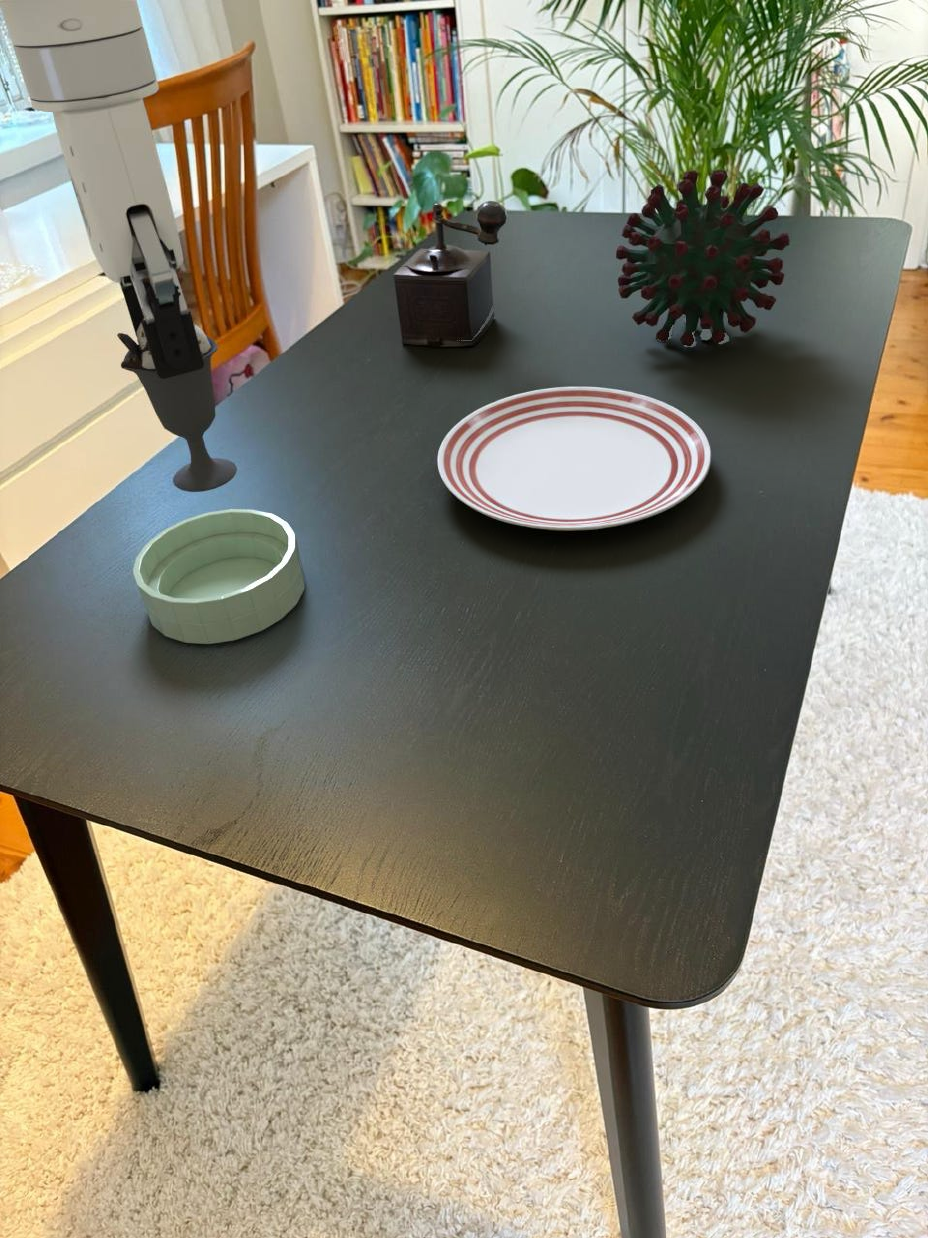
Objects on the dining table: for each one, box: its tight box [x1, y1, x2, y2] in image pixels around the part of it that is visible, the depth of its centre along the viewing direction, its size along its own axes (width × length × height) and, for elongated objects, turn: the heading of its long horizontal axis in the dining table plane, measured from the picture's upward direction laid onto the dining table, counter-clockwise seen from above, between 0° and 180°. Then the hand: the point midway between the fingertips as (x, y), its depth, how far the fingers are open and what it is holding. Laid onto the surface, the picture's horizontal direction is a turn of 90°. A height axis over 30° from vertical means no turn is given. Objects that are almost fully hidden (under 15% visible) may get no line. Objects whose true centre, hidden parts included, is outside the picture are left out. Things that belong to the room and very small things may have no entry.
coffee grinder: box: [393, 200, 508, 348], centre depth 126 cm, size 16×11×18 cm
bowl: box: [132, 508, 306, 645], centre depth 87 cm, size 14×14×5 cm
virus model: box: [615, 169, 790, 346], centre depth 117 cm, size 20×20×20 cm
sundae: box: [116, 276, 238, 493], centre depth 71 cm, size 7×7×15 cm
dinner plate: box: [437, 386, 712, 531], centre depth 99 cm, size 27×27×3 cm
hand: (169, 351), depth 69 cm, fingers closed on sundae, 6 cm apart
